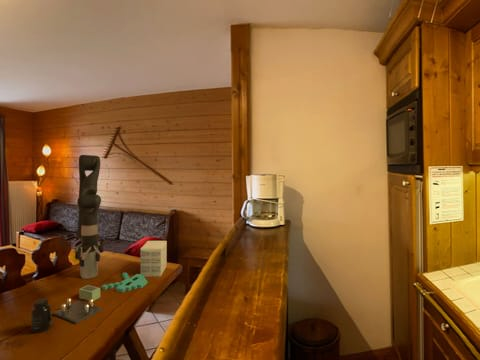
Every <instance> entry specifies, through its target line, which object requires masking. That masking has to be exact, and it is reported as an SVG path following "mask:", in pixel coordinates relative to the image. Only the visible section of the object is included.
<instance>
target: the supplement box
mask: <svg viewBox="0 0 480 360" xmlns="http://www.w3.org/2000/svg"><path fill="white" fill-rule="evenodd" d="M167 242H168V241H167V240H147V241H146V242H145V243H144V244H143V246H141V247H140V274H142V275H143V276H144V277H161V276H162V275H163V273H164V271H165V269H166V268H167V258H168V257H167V256H168V254H167V246H168V245H167V244H168V243H167Z"/></svg>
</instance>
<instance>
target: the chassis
mask: <svg viewBox="0 0 480 360" xmlns="http://www.w3.org/2000/svg"><path fill="white" fill-rule="evenodd" d="M101 311H102V307H99V306H96V305H94V301H93V299H89V301H88V303H87V302H84V301H81V300H77V301H75V302H73V303H72V298H71V297H67V299H66V303H65V302H64V303H62V304H61V308H59V309H58V310H55V311H53V315H54V316H56V317H58V318H61V319H63V320H66V321H68V322H71V323H73V324H76V325H77V324H79V323H81V322H83V321H85V320H86V318H87V319H88V318H90V317H92V316H94V315H96V314H97V313H99V312H101Z"/></svg>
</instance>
